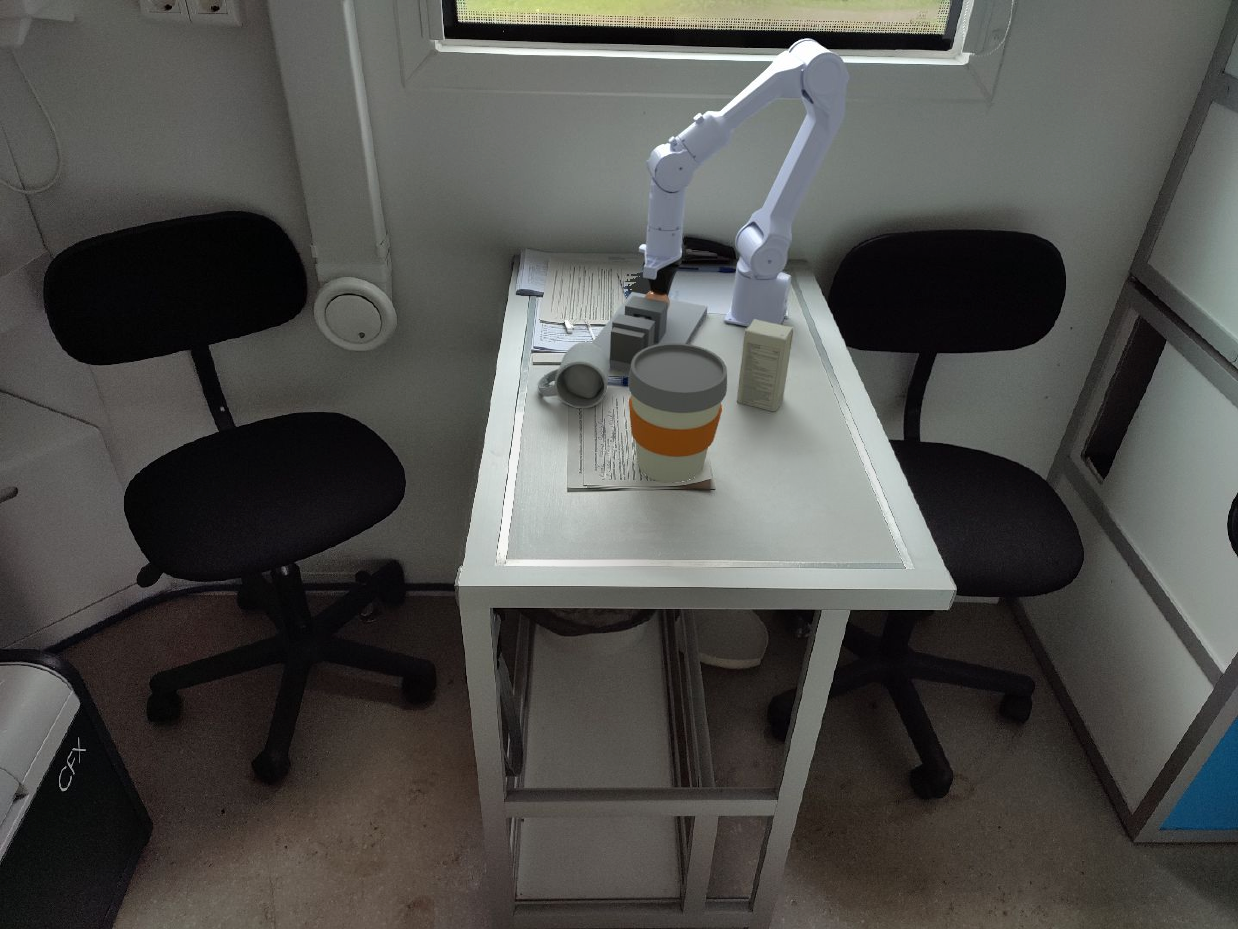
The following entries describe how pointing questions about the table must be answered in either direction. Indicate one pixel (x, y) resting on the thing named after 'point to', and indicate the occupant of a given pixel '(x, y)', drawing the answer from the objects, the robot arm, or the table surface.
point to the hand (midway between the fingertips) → (659, 301)
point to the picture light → (570, 326)
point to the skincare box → (764, 364)
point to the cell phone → (638, 284)
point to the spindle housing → (647, 327)
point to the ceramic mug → (579, 376)
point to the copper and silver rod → (656, 296)
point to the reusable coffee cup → (675, 408)
